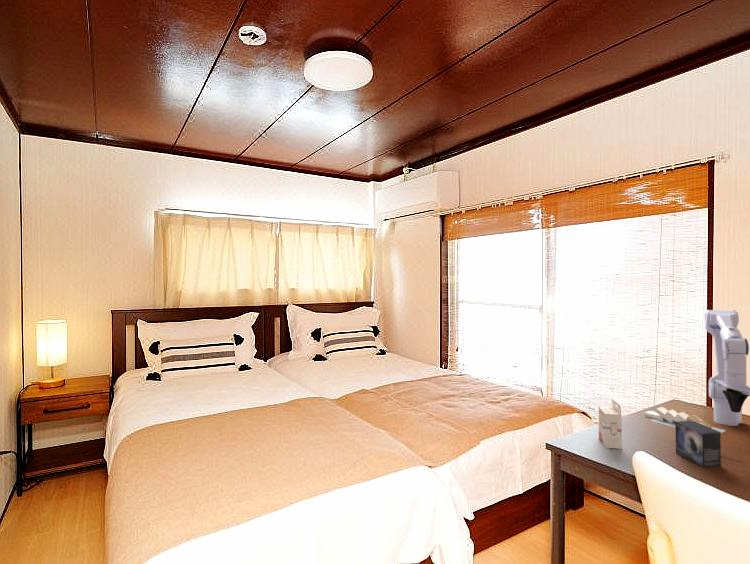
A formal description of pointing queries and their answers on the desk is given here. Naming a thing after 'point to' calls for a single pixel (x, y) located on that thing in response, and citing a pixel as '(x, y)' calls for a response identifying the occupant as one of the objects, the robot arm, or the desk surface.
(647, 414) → the tile
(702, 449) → the small box
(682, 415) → the tile
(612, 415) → the ink cartridge box
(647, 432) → the desk surface
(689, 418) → the tile
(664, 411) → the tile
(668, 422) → the domino board
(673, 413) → the tile
